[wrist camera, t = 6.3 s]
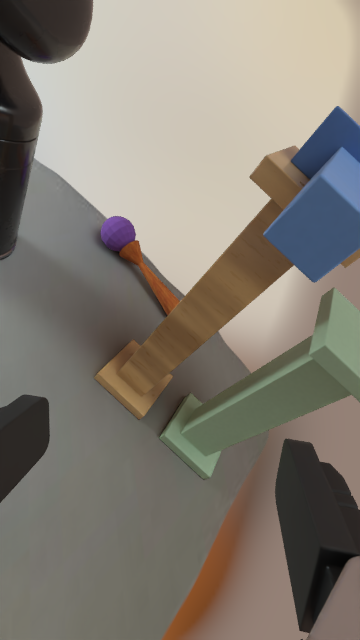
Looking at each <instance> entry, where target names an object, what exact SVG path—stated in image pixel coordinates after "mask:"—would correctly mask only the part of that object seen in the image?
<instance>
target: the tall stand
mask: <svg viewBox="0 0 360 640" xmlns="http://www.w3.org/2000/svg"><path fill="white" fill-rule="evenodd" d="M298 151H299V149H298V148H297V147H296V146H292V147H289V148H286V149H283V150H281V151H278V152H275V153H272V154H269V155H267V156H265V157H264V159H263V160H262V161H261V162H260V164H259V165H258V166H257V168H256V169H255V170H254V172H253V173H252V174H251V175H250V179H252V181H254V182H255V183H256V184H257V185H258V186H259V187H260V188H261V189H262V190H263V191H264V192H265V193H266V194H267V195H268V196H270V197H271V200H270V201H269V202H268V203H267V204H266V205H265V206H264V208H263V209H262V210H261V211H260V212H259V213H258V214H257V216H256V217H255V218H254V219H253V220H252V221H251V222H250V223H249V225H248V226H247V227H246V228H245V229H244V230H243V231H242V232H241V234H240V235H239V236H238V237H237V238H236V239H235V241H233V243H232V244H231V245H230V246H229V247H228V248H227V249H226V251H225V252H224V253H223V254H222V255H221V256H220V257H219V258H218V260H217V261H216V262H215V263H214V264H213V265H212V266H211V267H210V269H209V270H208V271H207V272H206V273H205V274H204V275H203V276H202V278H201V279H200V280H199V281H198V282H197V283H196V284H195V286H194V287H193V288H192V289H191V290H190V291H189V292H188V293H187V295H186V296H185V297H184V298H183V299H182V300H181V301H180V302H179V304H178V305H177V306H176V307H175V308H174V309H173V310H172V311H171V313H170V314H169V315H168V316H167V317H166V318H165V319H164V321H163V322H162V323H161V324H160V325H159V326H158V327H157V328H156V330H155V331H154V332H153V333H152V334H151V335H150V336H149V337H148V339H147V340H146V341H145V342H144V343H143V344H142V345H141V346H140V345H139V344H138V343H137V342H136V341H135V340H132V341H131V342H130V343H129V344H128V345H127V346H126V347H125V348H124V349H122V350H121V351H120V352H119V353H118V354H117V355H116V356H115V357H114V358H113V359H112V360H111V361H110V362H109V363H108V364H107V365H106V366H105V367H104V368H103V369H102V370H101V371H99V372H98V373H97V375H96V376H95V377H94V378H95V379H96V380H97V381H98V382H99V383H100V384H101V385H102V386H103V387H104V388H105V389H106V390H107V391H109V392H110V393H111V394H112V395H113V396H114V397H115V398H116V399H117V400H118V401H119V402H120V403H121V404H123V405H124V406H125V407H126V408H127V409H128V410H129V411H130V412H131V413H132V414H133V415H134V416H136V417H137V418H138V419H139V420H140V419H141V418H142V417H143V416H144V415H145V414H146V413H147V411H148V410H149V409H150V407H151V406H152V405H153V403H154V402H155V401H156V399H157V398H158V396H159V395H160V394H161V392H162V391H163V390H164V388H165V387H166V386H167V384H168V383H169V382H170V380H171V379H172V377H173V376H172V375H171V374H170V372H171V371H172V370H173V369H175V368H176V367H177V366H178V365H179V364H180V363H182V362H183V361H184V360H185V359H186V358H187V357H188V356H190V355H191V354H192V353H193V352H194V351H195V350H197V349H198V348H199V347H200V346H201V345H202V344H203V343H205V342H206V341H207V340H208V339H209V338H210V337H212V336H213V335H214V334H215V333H216V332H217V331H218V330H220V329H221V328H222V327H223V326H224V325H225V324H227V323H228V322H229V321H230V320H231V319H232V318H233V317H235V316H236V315H237V314H238V313H239V312H240V311H241V310H243V309H244V308H245V307H246V306H247V305H248V304H249V303H251V302H252V301H253V300H254V299H255V298H257V297H258V296H259V295H260V294H261V293H262V292H263V291H265V290H266V289H267V288H268V287H269V286H270V285H271V284H273V283H274V282H275V281H276V280H277V279H278V278H279V277H281V276H282V275H283V274H284V273H285V272H286V271H288V270H289V269H290V268H291V267H292V266H293V265H294V264H293V263H292V262H291V261H290V260H288V259H287V258H286V257H285V256H284V255H283V254H282V253H281V252H280V251H279V250H278V249H277V248H276V247H275V246H274V245H273V244H271V243H270V242H269V241H268V240H267V239H266V238H265V237H264V235H263V234H264V232H265V231H266V230H267V228H268V227H269V226H270V225H271V224H272V223H273V222H274V220H275V219H276V218H277V217H278V216H279V215H280V214H281V212H282V211H283V210H284V209H285V208H286V207H287V206H288V204H289V203H290V202H291V201H292V200H293V199H294V198H295V196H296V195H297V194H298V193H299V192H300V191H301V190H302V188H303V187H304V186H305V185H306V184H307V183H308V182H309V180H310V179H309V178H308V177H307V176H305V175H304V174H303V173H302V172H301V171H300V170H299V169H298V168H297V167H296V166H295V165H294V164H293V163H292V162H291V159H292V158H293V157H294V156H295V155H296V153H297V152H298ZM358 258H360V249H358V250H357V251H356V252H355V253H353V254H352V255H351V256H349V257H348V258H347V259H345V260H344V261H343V262H342V263H341V264H342V265H343V266H344V267H345V268H346V267H347V266H349V265H350V264H352V263H353V262H354V261H356V260H357V259H358Z"/></svg>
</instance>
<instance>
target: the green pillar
mask: <svg viewBox="0 0 360 640" xmlns="http://www.w3.org/2000/svg"><path fill="white" fill-rule="evenodd" d="M350 395H353V396H354V397H355V398H356V399H357V400H358V401H359V402H360V311H359V310H358V309H357V308H356V307H355V306H354V305H353V304H351V303H350V302H349V301H348V300H347V299H346V298H345V297H344V296H343V295H342V294H341V293H340V292H339V291H338V290H337V289H335V288H332V289H331V290H330V291H328V292H327V293H326V294H324V295H323V296H322V298H321V302H320V306H319V311H318V315H317V320H316V324H315V329H314V334H313V335H312V336H310V337H308V338H307V339H305V340H304V341H302V342H301V343H299V344H297V345H296V346H294V347H293V348H291V349H289V350H288V351H287V352H285V353H283V354H282V355H280V356H278V357H277V358H275V359H274V360H272V361H271V362H269V363H267V364H266V365H264V366H263V367H261V368H259V369H258V370H256V371H255V372H253V373H252V374H250V375H248V376H247V377H245V378H244V379H242V380H240V381H239V382H237V383H236V384H234V385H233V386H231V387H229V388H228V389H226V390H225V391H223V392H221V393H220V394H218V395H217V396H215V397H214V398H212V399H210V400H209V401H207V402H206V403H204V404H202V403H201V402H200V401H199V400H198V399H197V398H196V397H195V396H194V395H193V394H191V393H190V394H188V395H187V396H186V397H185V398H184V400H183V401H182V403H181V404H180V406H179V408H178V409H177V411H176V412H175V414H174V415H173V417H172V419H171V420H170V422H169V423H168V425H167V426H166V428H165V430H164V431H163V433H162V434H161V436H160V437H159V439H160V440H161V441H163V442H164V443H165V444H166V445H167V446H168V447H169V448H170V449H171V450H172V451H173V452H174V453H176V454H177V455H178V456H179V457H180V458H181V459H182V460H183V461H184V462H185V463H186V464H187V465H188V466H190V467H191V468H192V469H193V470H194V471H195V472H196V473H197V474H198V475H199V476H200V477H201V478H202V479H207V478H210V477H211V475H212V472H213V470H214V467H215V465H216V463H217V460H218V458H219V456H220V453H221V451H222V450H223V449H225V448H227V447H230V446H232V445H234V444H237V443H239V442H241V441H244V440H246V439H248V438H251V437H253V436H256V435H258V434H260V433H263V432H265V431H267V430H270V429H272V428H274V427H277V426H279V425H281V424H284V423H286V422H288V421H291V420H293V419H295V418H298V417H300V416H303V415H305V414H307V413H310V412H312V411H314V410H317V409H319V408H321V407H324V406H326V405H328V404H331V403H333V402H336V401H338V400H340V399H343V398H345V397H347V396H350Z"/></svg>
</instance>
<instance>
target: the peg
mask: <svg viewBox="0 0 360 640" xmlns="http://www.w3.org/2000/svg"><path fill="white" fill-rule="evenodd" d="M291 162H292V163H293V164H294V165H295V166H296V167H297V168H298V169H299V170H300V171H301V172H302V173H303V174H304V175H305V176H307V177H308V178H309V179H310V180H309V182H308V183H307V184H306V185H305V186H304V187H303V188H302V190H301V191H300V192H299V193H298V194H297V195H296V196H295V198H294V199H293V200H292V201H291V202H290V203H289V204H288V206H287V207H286V208H285V209H284V210H283V211H282V212H281V214H280V215H279V216H278V217H277V218H276V219H275V220H274V222H273V223H272V224H271V225H270V226H269V227H268V228H267V230H266V231H265V232H264V234H263V235H264V237H265V238H266V239H267V240H268V241H269V242H270V243H271V244H273V245H274V246H275V247H276V248H277V249H278V250H279V251H280V252H281V253H282V254H283V255H284V256H285V257H286V258H287V259H288V260H290V261H291V262H292V263H293V264H294V265H295V266H296V267H297V268H298V269H299V270H300V271H301V272H302V273H303V274H305V275H306V276H307V277H308V278H309V279H310V280H311V281H312V282H317V281H318V280H319V279H321V278H322V277H323V276H325V275H326V274H327V273H329V272H330V271H331V270H332V269H334V268H335V267H336V266H338V265H339V264H340V263H342V262H343V261H344V260H345V259H347V258H348V257H349V256H351V255H352V254H353V253H355V252H356V251H357V250H358V249H360V126H359V125H358V124H357V123H356V122H355V121H354V120H353V119H352V118H351V117H350V116H349V115H348V114H347V113H346V112H345V111H343V110H342V109H341V108H340V107H339V106H337V107H336V108H335V109H334V110H333V111H332V112H331V113H330V115H329V116H328V117H327V118H326V119H325V120H324V122H323V123H322V124H321V125H320V126H319V127H318V129H317V130H316V131H315V132H314V134H313V135H312V136H311V137H310V138H309V139H308V140H307V142H306V143H305V144H304V145H303V146H302V148H301V149H300V150H299V151H298V152H297V153H296V155H295V156H294V157H293V158H292V159H291Z"/></svg>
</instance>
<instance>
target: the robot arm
mask: <svg viewBox="0 0 360 640" xmlns="http://www.w3.org/2000/svg"><path fill="white" fill-rule="evenodd" d="M92 12H93V0H0V260H1V259H3V258H6V257H7V256H9V255H10V254H11V253H12V252H13V251H14V249H15V246H16V239H17V234H18V228H19V224H20V219H21V214H22V210H23V205H24V200H25V196H26V191H27V186H28V182H29V177H30V173H31V168H32V163H33V159H34V154H35V149H36V145H37V140H38V135H39V131H40V126H41V121H42V115H43V110H42V104H41V101H40V98H39V96H38V94H37V92H36V90H35V88H34V87H33V85H32V83H31V81H30V79H29V77H28V75H27V73H26V70H25V68H24V65H23V62H22V59H21V57H23V58H25V59H27V60H30V61H33V62H37V63H43V64H52V63H57V62H61V61H64V60H66V59H68V58H69V57H71V56H73V55H74V54H75V53H76V52H77V51H78V50H79V49H80V48H81V46H82V45H83V43H84V42H85V40H86V37H87V36H88V33H89V30H90V25H91V21H92ZM49 437H50V435H49V403H48V400H47V399H46V398H44V397H38V396H32V395H22V396H20V397H19V398H17V399H16V400H15V401H13V402H12V403H10V404H9V405H7V406H5V407H2V408H0V503H1V502H2V500H3V499H4V498H5V497H6V496H7V495H8V494H9V493H10V492H11V490H12V489H13V488H14V487H15V486H16V485H17V484H18V483H19V482H20V480H21V479H22V478H23V477H24V476H25V475H26V474H27V473H28V472H29V471H30V469H31V468H32V467H33V466H34V465H35V464H36V463H37V462H38V461H39V459H40V458H41V457H42V456H43V455H44V453H45V451H46V449H47V447H48V443H49ZM275 494H276V495H275V497H276V505H277V511H278V516H279V521H280V526H281V532H282V538H283V543H284V549H285V554H286V559H287V565H288V570H289V575H290V581H291V586H292V592H293V597H294V602H295V608H296V614H297V619H298V624H299V630H300V631H303V632H307V633H310V634H309V636H308V637H307V639H306V640H360V510H358V506H357V504H356V502H355V500H354V498H353V496H351V492H350V490H349V488H348V486H347V484H346V482H345V480H344V478H343V477H342V476H341V475H340V474H339V473H338V471H336V469H335V468H334V467H333V466H332V465H331V464H329V463H324V462H320V461H319V459H318V456H317V454H316V452H315V450H314V447H313V445H312V444H311V443H310V442H304V441H298V440H292V439H285V440H284V443H283V447H282V453H281V458H280V463H279V468H278V473H277V479H276V488H275ZM301 640H303V639H301Z"/></svg>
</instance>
